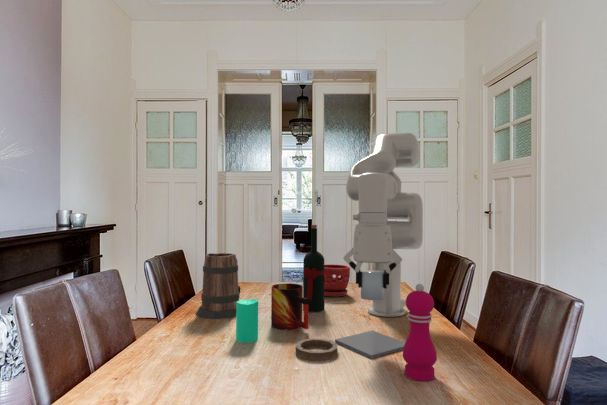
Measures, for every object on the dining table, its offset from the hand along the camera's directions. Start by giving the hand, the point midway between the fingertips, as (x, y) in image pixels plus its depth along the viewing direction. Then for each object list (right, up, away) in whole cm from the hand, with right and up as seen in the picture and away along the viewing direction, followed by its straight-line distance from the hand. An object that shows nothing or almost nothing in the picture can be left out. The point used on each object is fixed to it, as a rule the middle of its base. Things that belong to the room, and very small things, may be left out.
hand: (372, 286), depth 108 cm
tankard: (-46, -16, +35) cm, 60 cm away
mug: (-22, -16, +16) cm, 31 cm away
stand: (-15, -15, -6) cm, 22 cm away
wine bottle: (-15, -16, +35) cm, 41 cm away
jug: (0, -3, +2) cm, 4 cm away
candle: (-34, -16, +4) cm, 38 cm away
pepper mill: (+7, -16, -19) cm, 26 cm away
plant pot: (-6, -16, +60) cm, 63 cm away
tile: (0, -16, 0) cm, 16 cm away
